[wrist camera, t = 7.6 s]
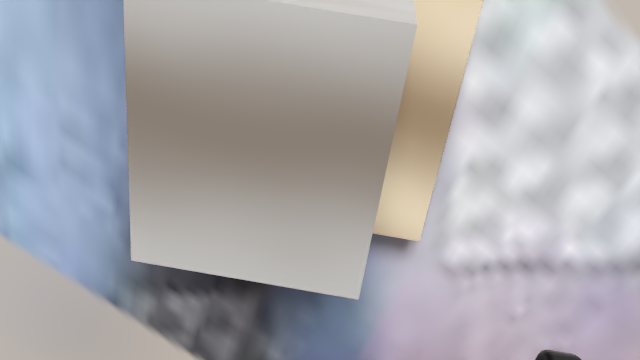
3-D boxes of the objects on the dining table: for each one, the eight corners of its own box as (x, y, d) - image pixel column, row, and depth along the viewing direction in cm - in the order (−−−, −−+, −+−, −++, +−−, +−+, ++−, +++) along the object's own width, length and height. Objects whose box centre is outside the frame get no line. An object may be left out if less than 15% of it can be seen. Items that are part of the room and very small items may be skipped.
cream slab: (417, 214, 20) (419, 241, 19) (154, 169, 20) (136, 193, 19) (501, -116, 15) (513, -111, 14) (153, -170, 15) (129, -171, 14)
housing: (367, 175, 18) (358, 299, 13) (201, 147, 18) (131, 260, 13) (409, -35, 15) (417, 24, 10) (210, -66, 15) (122, -23, 10)
